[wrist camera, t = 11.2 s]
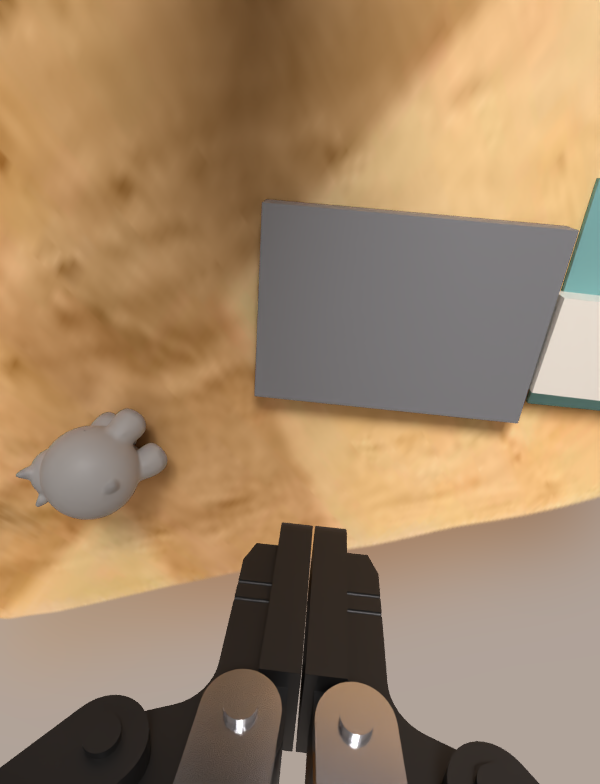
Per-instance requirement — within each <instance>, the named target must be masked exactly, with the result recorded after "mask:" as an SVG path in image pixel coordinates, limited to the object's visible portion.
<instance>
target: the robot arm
mask: <svg viewBox="0 0 600 784" xmlns="http://www.w3.org/2000/svg"><path fill="white" fill-rule="evenodd" d="M312 529H313V526H310V525H301V524H292V523H282V525H281V531H280V538H279V544H278V545H269V544H260V543H256V545H255V546H254V547H253V548H252V550H251V551H250V552H249V553H248V554H247V556H246V557H245V558H244V559H243V564H242V568H241V572H240V576H239V582H238V585H237V589H236V593H235V599H234V602H233V606H232V610H231V614H230V618H229V623H228V627H227V631H226V636H225V639H224V644H223V648H222V652H221V656H220V660H219V664H218V668H217V670H216V673H215V674H214V676H213V678H212V679H211V681H210V682H209V683H208V685H207V686H206V687H205V688H204V689H203V690H201V691H200V692H199V693H198V694H196V695H195V696H193V697H192V698H190V699H188V700H186V701H184V702H181V703H178V704H174V705H170V706H165V707H161V708H156V709H152V710H147V711H144V709H143V708H142V706H141V705H140V704H139V703H138V702H136V701H135V700H133V699H131V698H129V697H126V696H121V695H109V696H104V697H100V698H97V699H95V700H93V701H91V702H89V703H87V704H86V705H84V706H83V707H81V708H80V709H78V710H77V711H76V712H74V713H73V714H72V715H70V716H69V717H68V718H66V719H65V720H64V721H62V722H61V723H60V724H58V725H57V726H56V727H54V728H53V729H52V730H50V731H49V732H47V733H46V734H45V735H43V736H42V737H41V738H39V739H38V740H37V741H35V742H34V743H33V744H31V745H30V746H29V747H27V748H26V749H25V750H23V751H22V752H21V753H19V754H18V755H17V756H15V757H14V758H13V759H11V760H10V761H9V762H7V763H6V764H5V765H3V766H2V767H1V768H0V784H279V777H280V766H281V756H282V750H285V751H292V749H293V740H294V731H295V723H296V714H297V705H298V696H299V688H300V680H301V690H300V703H299V717H298V729H297V742H296V752H303V753H307V759H306V775H305V784H539V783H538V782H537V781H536V780H535V778H534V777H533V776H532V775H531V774H530V773H529V772H528V771H527V770H526V769H525V768H524V766H523V765H522V764H521V763H520V762H519V761H518V760H517V759H515V757H513V756H512V755H511V754H510V753H508V752H507V751H505V750H504V749H502V748H500V747H498V746H496V745H493V744H490V743H486V742H478V741H476V742H469V743H467V744H464V745H462V746H461V747H459V748H458V749H457V750H456V749H454V748H451V747H449V746H447V745H445V744H443V743H441V742H439V741H437V740H435V739H433V738H431V737H429V736H427V735H425V734H423V733H421V732H420V731H418V730H416V729H415V728H414V727H412V726H411V725H410V724H409V723H408V722H407V721H406V720H405V719H404V718H403V717H402V716H401V714H400V713H399V712H398V710H397V709H396V707H395V705H394V703H393V702H392V699H391V697H390V694H389V690H388V684H387V675H386V674H387V673H386V661H385V649H384V637H383V625H382V617H381V601H380V589H379V577H378V573H377V571H376V569H375V568H374V566H373V564H372V562H371V560H370V559H369V557H368V555H361V554H351V553H347V532H346V529H339V528H330V527H320V526H315V533H314V541H313V550H312V559H311V560H312V561H311V568H310V578H309V567H310V555H311V542H312ZM308 580H309V588H308ZM307 593H308V599H307ZM307 600H308V601H307ZM306 606H307V612H306ZM305 619H306V626H305ZM304 631H305V638H304ZM303 644H304V651H303ZM302 657H303V664H302ZM301 670H302V677H301Z"/></svg>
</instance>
